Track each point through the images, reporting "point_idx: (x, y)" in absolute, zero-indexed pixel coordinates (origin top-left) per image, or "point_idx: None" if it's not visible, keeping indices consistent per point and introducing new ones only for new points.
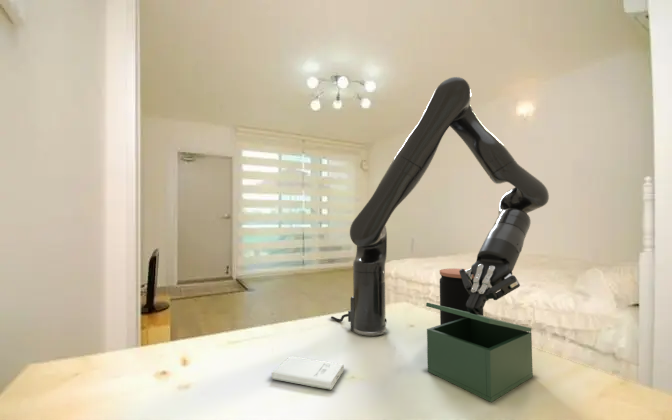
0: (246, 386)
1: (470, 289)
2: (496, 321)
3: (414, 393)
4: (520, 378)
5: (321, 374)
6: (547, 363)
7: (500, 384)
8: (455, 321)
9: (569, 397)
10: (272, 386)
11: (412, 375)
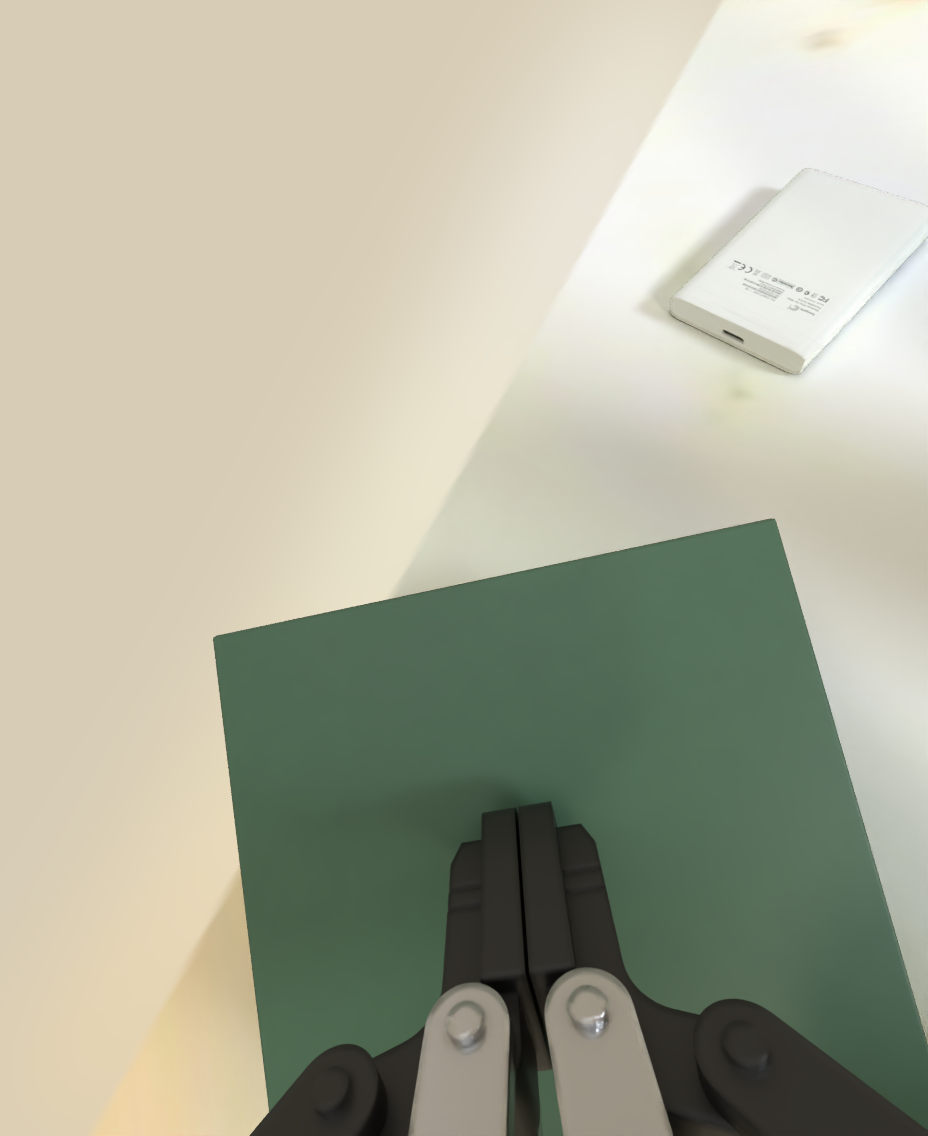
0: (776, 144)
1: (681, 1048)
2: (227, 736)
3: (552, 527)
4: None
5: (739, 280)
6: None
7: None
8: None
9: (240, 1101)
10: (754, 194)
11: None
